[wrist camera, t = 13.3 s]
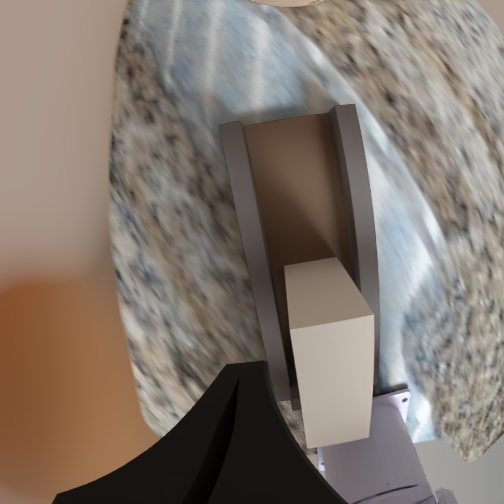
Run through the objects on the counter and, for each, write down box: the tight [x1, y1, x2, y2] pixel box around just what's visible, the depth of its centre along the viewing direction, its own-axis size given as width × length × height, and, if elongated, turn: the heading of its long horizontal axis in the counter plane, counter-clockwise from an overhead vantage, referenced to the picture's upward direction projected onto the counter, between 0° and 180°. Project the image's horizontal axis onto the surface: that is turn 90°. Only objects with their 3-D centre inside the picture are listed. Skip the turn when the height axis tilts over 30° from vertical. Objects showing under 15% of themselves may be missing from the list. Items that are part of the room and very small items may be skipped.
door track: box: [219, 104, 380, 411], centre depth 16 cm, size 16×7×4 cm, turn 11°
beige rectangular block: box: [284, 257, 374, 449], centre depth 14 cm, size 3×7×7 cm, turn 11°
